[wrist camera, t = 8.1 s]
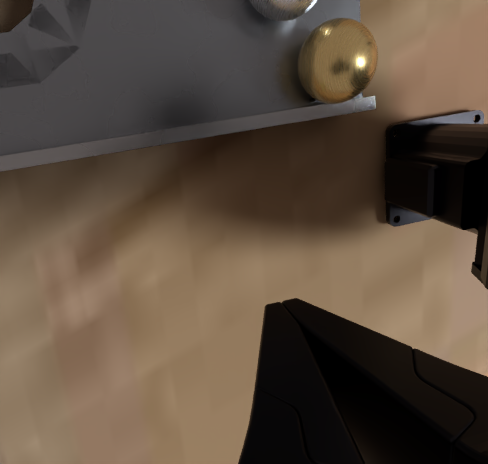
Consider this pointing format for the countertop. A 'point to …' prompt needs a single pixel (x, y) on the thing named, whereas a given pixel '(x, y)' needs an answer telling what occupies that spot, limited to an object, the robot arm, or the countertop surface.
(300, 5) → the steel ball
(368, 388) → the robot arm
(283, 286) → the countertop surface
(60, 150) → the tray
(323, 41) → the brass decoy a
